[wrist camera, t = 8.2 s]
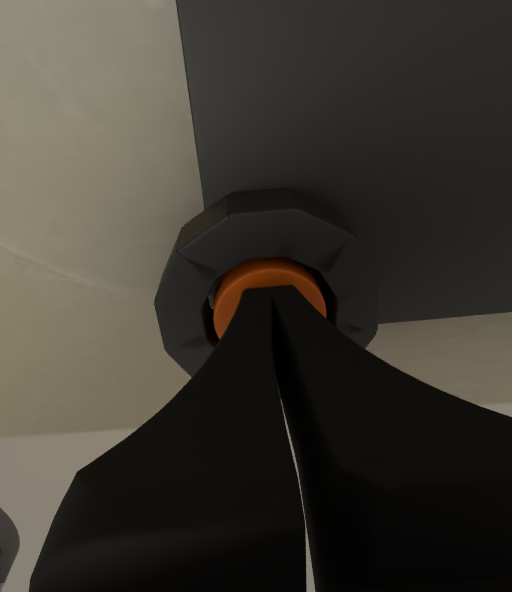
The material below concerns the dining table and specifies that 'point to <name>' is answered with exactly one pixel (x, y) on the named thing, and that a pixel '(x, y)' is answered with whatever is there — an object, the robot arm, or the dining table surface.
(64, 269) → the dining table surface
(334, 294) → the button block
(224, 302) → the button
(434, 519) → the robot arm
